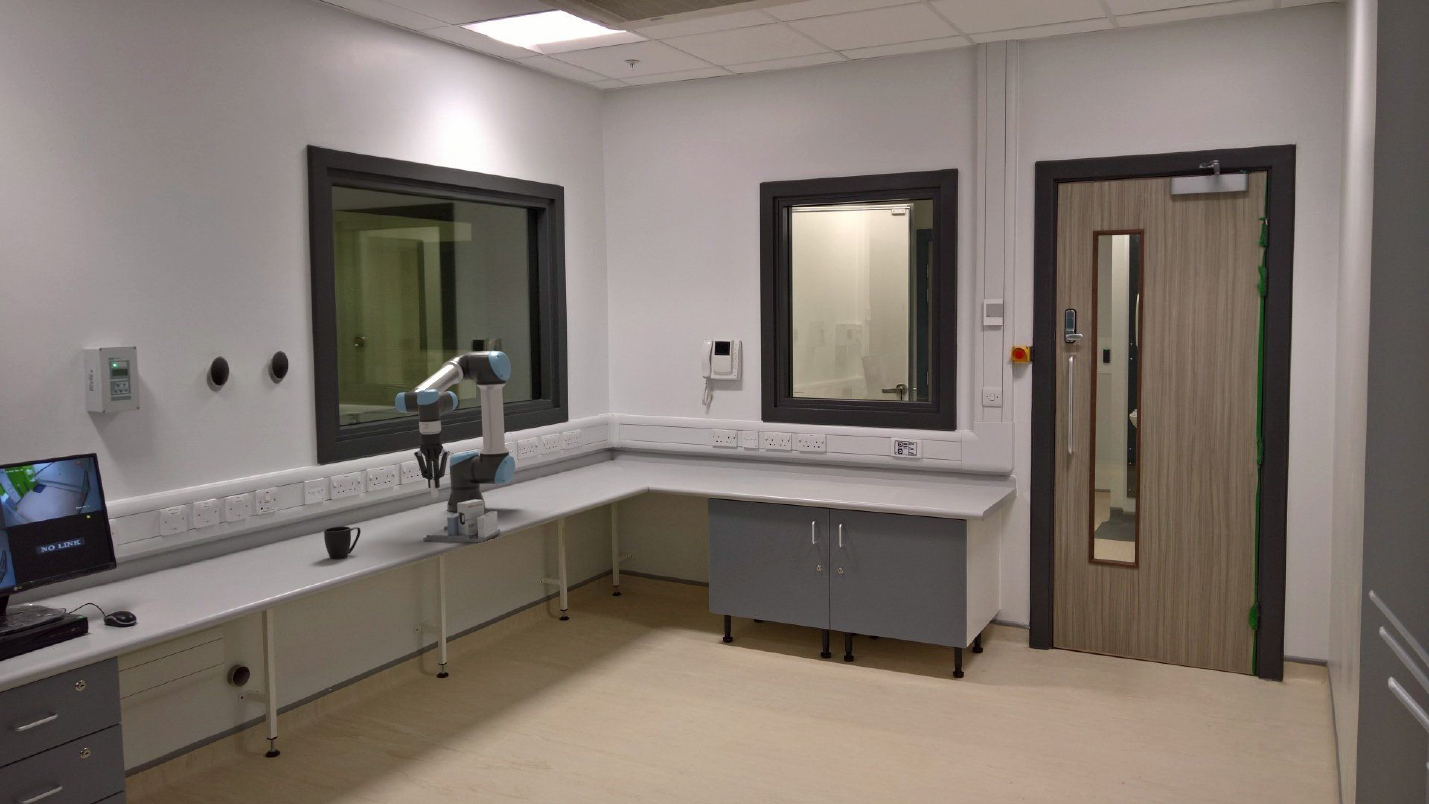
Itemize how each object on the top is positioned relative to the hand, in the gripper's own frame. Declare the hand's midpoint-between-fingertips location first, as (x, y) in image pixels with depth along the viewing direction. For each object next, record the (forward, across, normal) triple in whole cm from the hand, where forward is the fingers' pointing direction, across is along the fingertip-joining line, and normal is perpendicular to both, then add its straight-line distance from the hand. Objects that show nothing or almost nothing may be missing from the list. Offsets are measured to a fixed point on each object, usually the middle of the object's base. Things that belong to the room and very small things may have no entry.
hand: (434, 496), depth 363 cm
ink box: (+13, +16, -5) cm, 20 cm away
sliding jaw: (+12, +10, -5) cm, 17 cm away
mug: (+13, -16, -36) cm, 41 cm away
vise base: (+14, +12, -5) cm, 19 cm away
